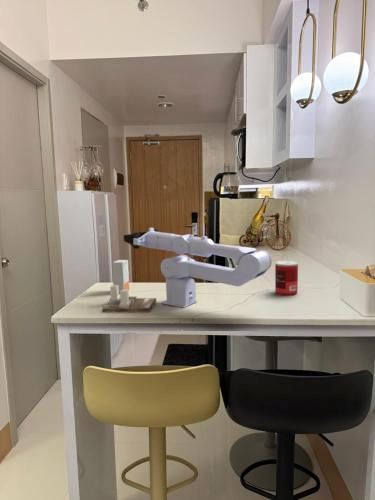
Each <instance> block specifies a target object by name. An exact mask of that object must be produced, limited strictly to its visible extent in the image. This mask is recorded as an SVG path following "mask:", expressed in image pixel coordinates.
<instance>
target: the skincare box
mask: <svg viewBox="0 0 375 500" xmlns="http://www.w3.org/2000/svg"><path fill="white" fill-rule="evenodd" d="M111 267H112V268H111V269H112V285H118V286H119V295H120V291H121V290H122V289H128V292H129V291H130V275H129V274H130V272H129V260H128V259H118V260H114V261H113V262H112V263H111Z"/></svg>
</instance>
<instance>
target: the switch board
mask: <svg viewBox="0 0 375 500" xmlns="http://www.w3.org/2000/svg"><path fill="white" fill-rule="evenodd" d="M129 301H130V305H129V306H119V304H120V303H121V300H120V299H119V300H110V299H108V301H107V302H106V305H102V313H150V312H151V311H152V309H153V307H154V306H155V304H156V302H157V298H155V297H153V298H152V297H149V298H148V297H147V298H146V297H143V298H138V296H130V295H129Z"/></svg>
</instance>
